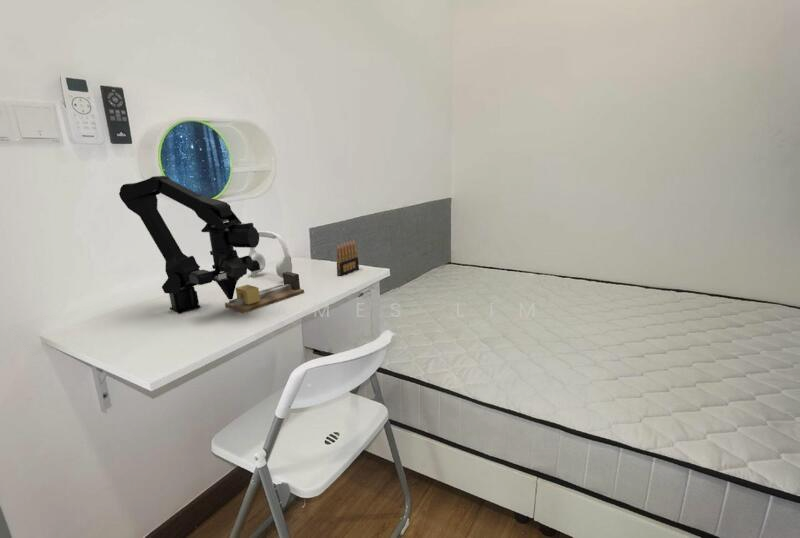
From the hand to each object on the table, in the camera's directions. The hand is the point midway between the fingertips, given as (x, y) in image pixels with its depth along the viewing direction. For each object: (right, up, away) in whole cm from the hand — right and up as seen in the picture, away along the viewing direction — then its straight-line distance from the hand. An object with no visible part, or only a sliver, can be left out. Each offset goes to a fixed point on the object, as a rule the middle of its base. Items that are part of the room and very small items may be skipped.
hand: (230, 299), depth 122 cm
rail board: (+7, -1, +10) cm, 12 cm away
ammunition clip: (+30, +7, +36) cm, 48 cm away
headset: (+2, +5, +32) cm, 33 cm away
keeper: (+4, -1, +5) cm, 6 cm away
